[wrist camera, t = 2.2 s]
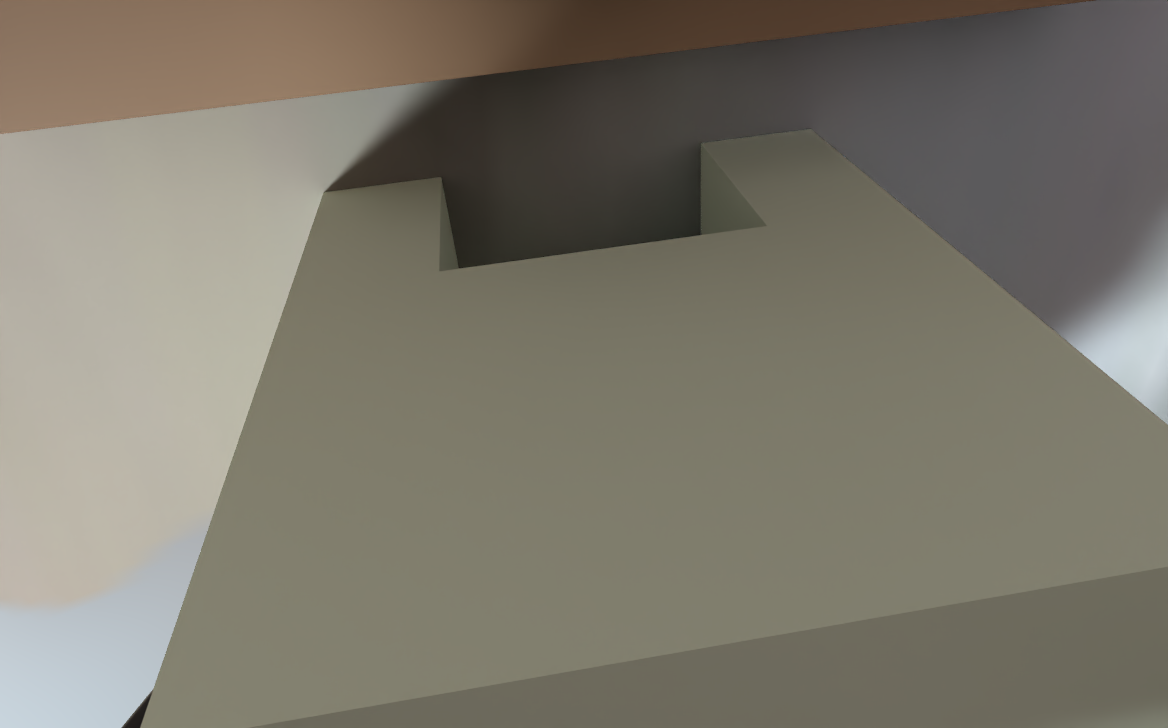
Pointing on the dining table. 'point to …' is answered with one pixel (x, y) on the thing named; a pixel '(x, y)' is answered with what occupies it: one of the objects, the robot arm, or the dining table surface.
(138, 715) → the robot arm
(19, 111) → the cleat board
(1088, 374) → the block
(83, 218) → the dining table surface
